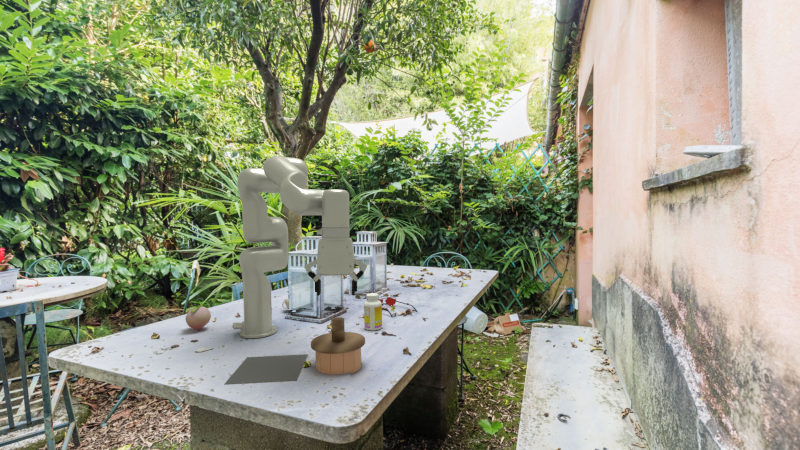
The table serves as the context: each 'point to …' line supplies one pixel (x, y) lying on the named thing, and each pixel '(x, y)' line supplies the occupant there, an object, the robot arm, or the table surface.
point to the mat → (268, 369)
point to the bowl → (338, 362)
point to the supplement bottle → (372, 312)
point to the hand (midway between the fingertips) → (336, 294)
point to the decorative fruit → (198, 317)
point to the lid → (337, 339)
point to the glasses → (392, 303)
